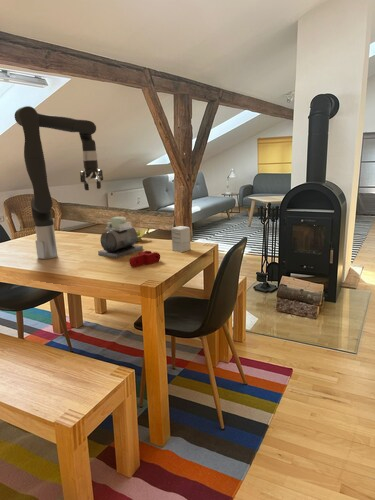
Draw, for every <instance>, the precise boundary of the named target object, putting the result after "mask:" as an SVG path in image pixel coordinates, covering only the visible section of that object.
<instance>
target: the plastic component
mask: <svg viewBox="0 0 375 500" xmlns="http://www.w3.org/2000/svg"><path fill="white" fill-rule="evenodd" d="M145 229H146V228H145V227H144V228H142V230H136V232H137V236H138V239H137V242H140V241H142V238H143V237H144V236H145V234H146V230H145Z"/></svg>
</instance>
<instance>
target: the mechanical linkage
mask: <svg viewBox="0 0 375 500" xmlns="http://www.w3.org/2000/svg"><path fill="white" fill-rule="evenodd" d="M159 261H161V254H160V253H159V252H156V251H155V252H152V251H151V250H144V251H141V252H138V254H136V255H133V256H131V257H130V259H129V266H131V267H133V268H138V267H141V266H143V265H148V266H150V265H153V264H156V263H158V262H159Z"/></svg>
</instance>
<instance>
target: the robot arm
mask: <svg viewBox="0 0 375 500" xmlns="http://www.w3.org/2000/svg"><path fill="white" fill-rule="evenodd" d="M14 120H15V122H16V123H17V125H18V126H20V127H22V131H23V134H24V135H23V136H24V146H23V160H24V163H25V169H26V172H27V175H28V177H29V180H30V182H31V186H32V189H33V190H32V191H33V196H32V197H31V200H30V206H31V213H32V219H33V223H34V228H35V234H36V235H35V236H36V240H35V248H36V249H35V250H36V256H37V259H41V260H48V259H54V258H57V257H58V249H57V241H56V240H57V239H56V234H55V223H54V219H53V216H52V212H51V210H52V208H53V205H54V204H53V199H52V196H51V192H50V188H49V185H48V176H47V175H48V174H47V168H46V167H47V165H46V161H45V154H44V150H43V143H42V139H41V132H40V128H46V129H52V130H57V131H61V132H62V131H63V132H67V133H68V132H69V133H78V134H79V137H80V141H81V144H82V145H81V147H82V161H83V168H84V170H83V171H82V170H81V171H79V175H80V177H79V178H80V183H82V184H83V185H84V190H85V191H89V190H90V187H89V181H90V180H91V179H94V180H95V181H96V189H97V190H98V189H99V190H100V189H101V188H102V184H101V182H102V181H104V176H103V175H104V174H103V169H98V168H99V164H98V163H99V162H98V154H97V145H96V142H95V140H94V139H93V137H92V136H93V134H95V133H96V131H97V125H96V124H95V122H93V121H91V120H86V119H77V118H72V117H68V116H61V115H51V114H43V113H38V112H37V110H36V109H35V108H34V107H32V106H30V105H25V106H22V107H19V108H18V109H17V110H16V111H15V113H14Z"/></svg>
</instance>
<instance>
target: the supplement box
mask: <svg viewBox="0 0 375 500" xmlns="http://www.w3.org/2000/svg"><path fill="white" fill-rule="evenodd" d="M171 245H172V246H171V247H172V251H174V252H179V253H184V252H186V251H190V250H192V249H191V248H192V247H191V228H190V227H189V226H184V225H179V226H178V225H177V226H175V227H171Z"/></svg>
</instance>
